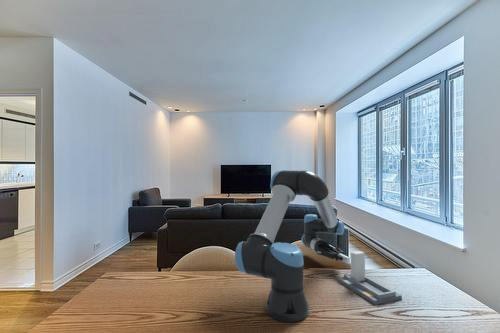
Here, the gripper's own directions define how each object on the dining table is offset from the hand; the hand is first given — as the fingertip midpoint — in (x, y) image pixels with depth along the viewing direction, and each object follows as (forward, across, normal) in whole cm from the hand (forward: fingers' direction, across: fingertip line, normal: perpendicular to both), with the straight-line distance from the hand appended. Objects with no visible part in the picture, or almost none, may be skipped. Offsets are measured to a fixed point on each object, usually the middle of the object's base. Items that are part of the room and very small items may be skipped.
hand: (348, 260), depth 127 cm
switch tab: (+6, 0, -6) cm, 9 cm away
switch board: (+12, 0, -8) cm, 15 cm away
